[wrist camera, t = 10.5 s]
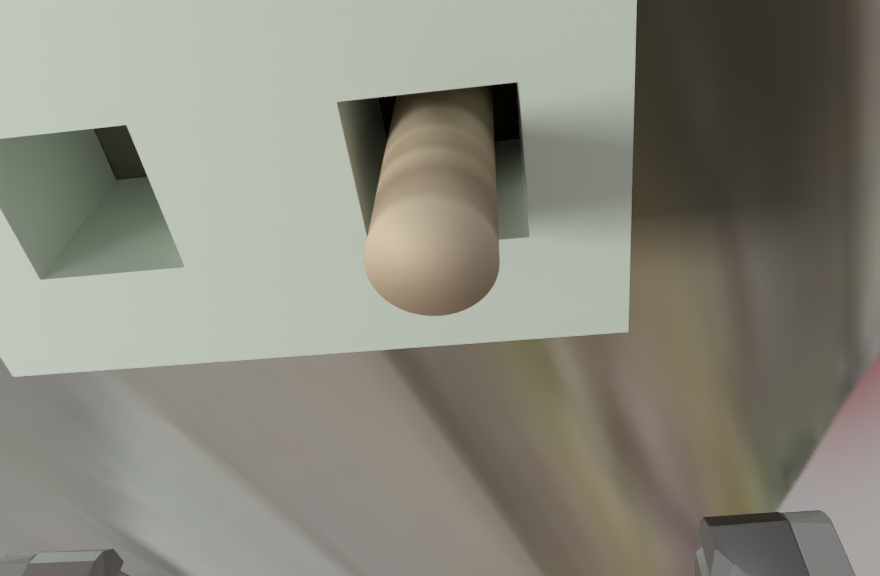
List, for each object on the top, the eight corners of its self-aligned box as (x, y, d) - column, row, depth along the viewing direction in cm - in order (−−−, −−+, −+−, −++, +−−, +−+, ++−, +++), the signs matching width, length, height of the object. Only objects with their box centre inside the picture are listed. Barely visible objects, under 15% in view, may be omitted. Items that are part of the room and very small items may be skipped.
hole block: (-78, -53, 23) (-225, 11, 18) (601, -149, 20) (639, -105, 16) (86, 269, 30) (13, 376, 25) (602, 224, 28) (628, 331, 23)
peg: (392, 44, 24) (351, 212, 16) (487, 33, 24) (493, 199, 16) (407, 131, 26) (376, 320, 18) (495, 122, 25) (505, 310, 17)
